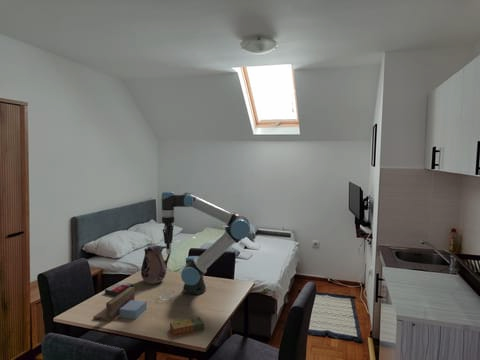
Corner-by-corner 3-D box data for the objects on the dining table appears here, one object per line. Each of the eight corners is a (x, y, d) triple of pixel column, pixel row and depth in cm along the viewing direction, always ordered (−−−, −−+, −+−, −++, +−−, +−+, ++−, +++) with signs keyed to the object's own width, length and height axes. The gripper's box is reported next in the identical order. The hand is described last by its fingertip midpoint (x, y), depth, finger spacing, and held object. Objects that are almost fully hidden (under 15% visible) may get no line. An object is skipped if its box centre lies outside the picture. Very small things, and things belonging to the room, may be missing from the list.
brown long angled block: (134, 303, 201) (134, 287, 200) (111, 321, 177) (111, 303, 177) (118, 301, 203) (118, 285, 202) (93, 319, 180) (93, 301, 179)
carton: (169, 329, 170) (169, 321, 170) (199, 323, 177) (199, 316, 176) (173, 337, 163) (173, 329, 162) (204, 331, 169) (204, 323, 169)
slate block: (146, 310, 192) (146, 301, 192) (136, 319, 180) (135, 310, 180) (131, 308, 194) (130, 300, 194) (119, 317, 182) (119, 309, 182)
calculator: (104, 288, 214) (121, 280, 227) (104, 295, 214) (122, 286, 228) (116, 291, 209) (133, 283, 223) (117, 298, 210) (134, 289, 223)
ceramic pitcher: (136, 281, 237) (136, 247, 236) (162, 274, 251) (162, 242, 250) (148, 288, 224) (148, 252, 223) (175, 280, 238) (175, 247, 237)
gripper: (166, 214, 212) (166, 250, 213) (158, 218, 199) (159, 256, 200) (177, 214, 211) (178, 250, 212) (170, 218, 198) (170, 256, 199)
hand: (168, 253), depth 206 cm, fingers closed
